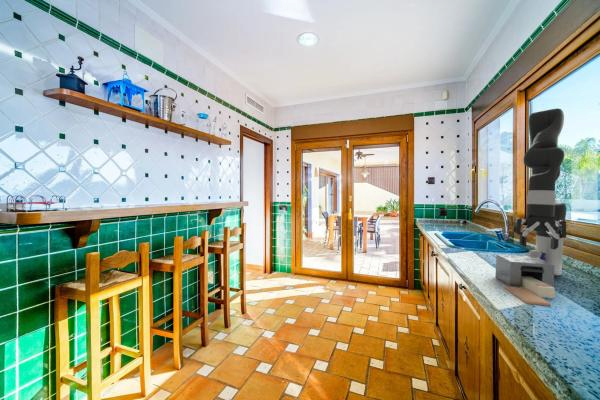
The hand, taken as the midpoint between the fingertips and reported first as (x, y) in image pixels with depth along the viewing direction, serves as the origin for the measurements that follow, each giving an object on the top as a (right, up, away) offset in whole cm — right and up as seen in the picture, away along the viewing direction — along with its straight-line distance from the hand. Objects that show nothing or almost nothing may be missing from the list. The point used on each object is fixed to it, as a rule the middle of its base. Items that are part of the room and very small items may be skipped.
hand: (537, 247), depth 94 cm
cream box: (+3, -18, +5) cm, 19 cm away
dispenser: (+5, -17, +13) cm, 22 cm away
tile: (-4, -18, 0) cm, 18 cm away
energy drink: (+18, -17, +20) cm, 32 cm away
